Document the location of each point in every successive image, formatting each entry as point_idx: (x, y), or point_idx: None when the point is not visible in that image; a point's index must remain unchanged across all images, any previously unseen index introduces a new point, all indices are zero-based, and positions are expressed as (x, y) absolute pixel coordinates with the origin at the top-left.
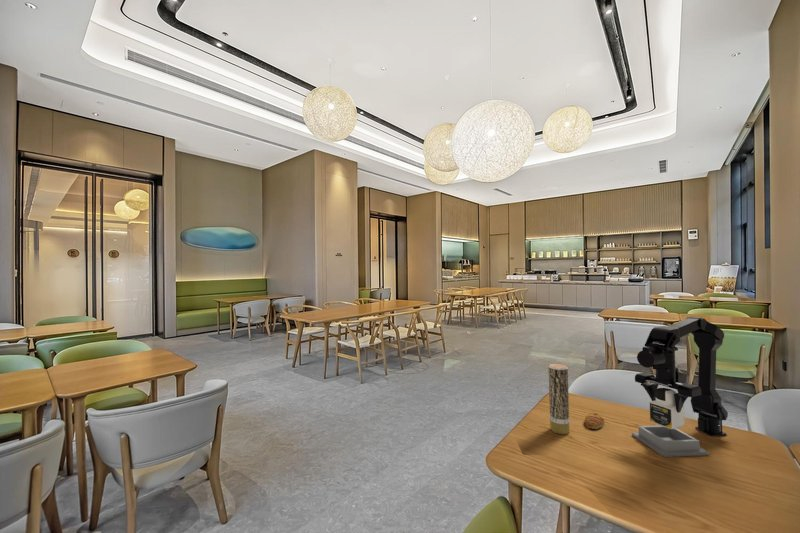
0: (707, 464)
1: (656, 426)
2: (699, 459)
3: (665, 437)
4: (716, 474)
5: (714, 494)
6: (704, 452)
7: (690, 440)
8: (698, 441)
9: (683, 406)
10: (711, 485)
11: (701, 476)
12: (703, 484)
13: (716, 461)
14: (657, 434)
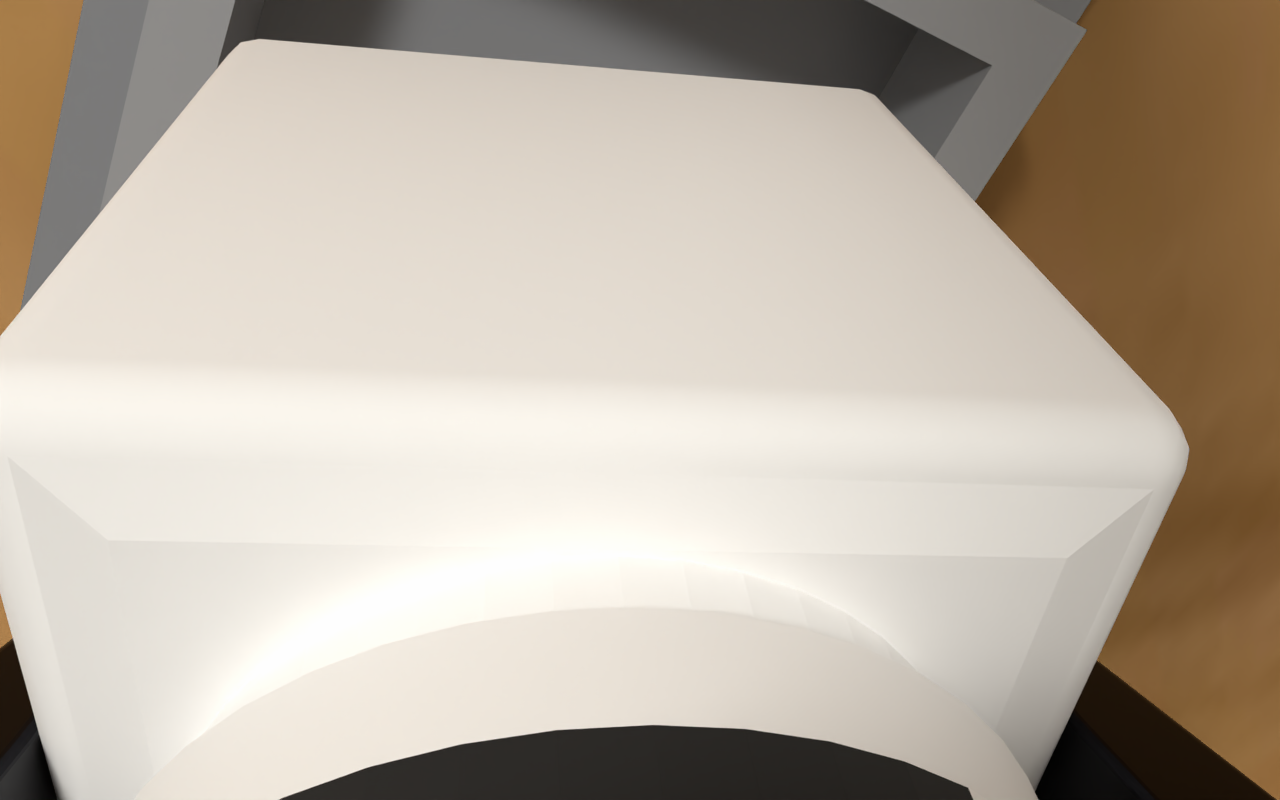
0: (1138, 277)
1: (186, 78)
2: (1031, 222)
3: (401, 1)
4: (1247, 433)
5: (1253, 756)
6: (1081, 8)
7: (959, 180)
8: (1068, 49)
9: (1175, 469)
10: (1222, 662)
11: (1128, 596)
12: (1164, 700)
13: (1226, 60)
14: (253, 37)
